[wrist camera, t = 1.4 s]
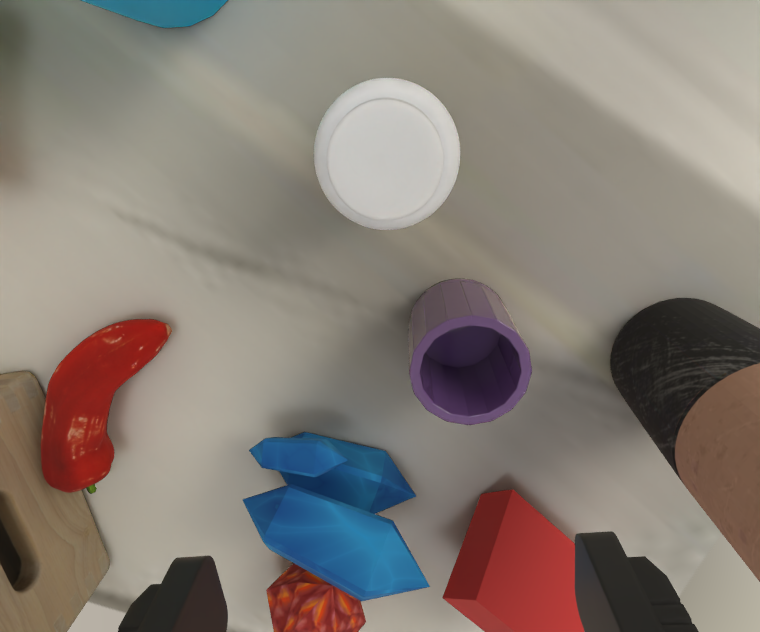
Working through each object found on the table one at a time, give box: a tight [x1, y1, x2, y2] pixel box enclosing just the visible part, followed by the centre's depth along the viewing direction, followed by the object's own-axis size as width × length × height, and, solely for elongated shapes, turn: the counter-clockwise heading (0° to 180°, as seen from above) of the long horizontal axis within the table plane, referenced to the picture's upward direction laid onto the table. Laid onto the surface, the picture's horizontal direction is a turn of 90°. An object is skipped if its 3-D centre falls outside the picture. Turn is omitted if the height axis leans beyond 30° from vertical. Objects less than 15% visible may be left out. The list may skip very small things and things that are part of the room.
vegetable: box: [41, 319, 172, 494], centre depth 31 cm, size 4×5×12 cm
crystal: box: [243, 432, 430, 601], centre depth 31 cm, size 7×9×12 cm
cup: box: [408, 279, 532, 425], centre depth 28 cm, size 6×6×6 cm
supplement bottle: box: [314, 78, 460, 230], centre depth 23 cm, size 6×6×10 cm
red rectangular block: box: [443, 489, 584, 632], centre depth 34 cm, size 8×7×6 cm
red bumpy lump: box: [266, 563, 366, 632], centre depth 35 cm, size 6×7×8 cm
